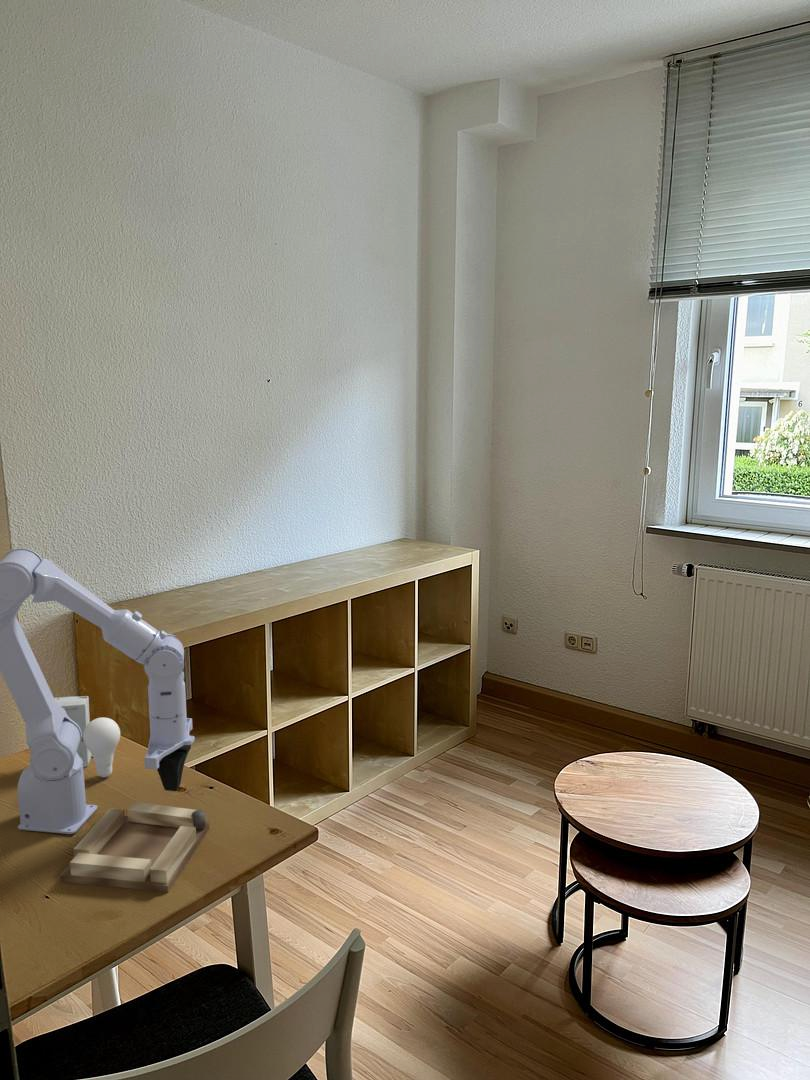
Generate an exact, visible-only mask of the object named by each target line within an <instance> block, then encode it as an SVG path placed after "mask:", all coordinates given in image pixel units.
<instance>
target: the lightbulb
mask: <svg viewBox="0 0 810 1080" xmlns="http://www.w3.org/2000/svg"><path fill="white" fill-rule="evenodd" d="M120 739H121V728H120V726H119V724H118V723H117V722H116V721H115V720H113V719H112V718H109V717H104V716H103V717H97V718H95V719H93V720H91V721H90V723H89V724H88V725H87V726H86V728H85V730H84V734H83V740H84V743H85V745H86V747H87V748H88V749H89V751H90V752H91V754H92V759H93V763H94V765H95V768H96V774H97V776H98V777H102V778H103V779H105V778H108V777H109V776H110V775H112V773H113V763H114V754H115V751H116V748H117V746H118V745H119V742H120Z"/></svg>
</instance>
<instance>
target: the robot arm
mask: <svg viewBox="0 0 810 1080" xmlns="http://www.w3.org/2000/svg"><path fill="white" fill-rule="evenodd" d="M31 595H33V598H32V601H31V603H33V604H35V603H38V604H39V603H46V602H57V603H58V604H60V605H62V606H63V607H65V608H67V609H68V610H69V611H72V612H74V613H75V614H77V615H78V616H80V617H81V618H83V619H85V620H87V621H88V622H89V623H91V624H93V625H94V626H96V627H99V628H100V629H101V632H102V638H103V640H104V641H105V642H106V643H108V644H109V645H111V646H112V647H114V648H115V649H117V650H118V651H120V652H121V653H123V654H124V655H126V656H127V657H129V658H130V659H131V660H133V661H135V662H137V663H138V664H141V665H144V666H143V668H144V672H145V673H146V675H147V676H148V685H147V692H148V693H147V694H148V695H147V696H148V697H147V698H148V712H149V713H148V714H149V728H150V729H149V730H150V737H149V741H148V746H147V747H148V748H147V751H146V752H147V753H146V754H145V756H144V757H143V761H144V763H143V764H144V769H145V770H155V771H157V773H158V775H159V778H160V781H161V784H162V787H163V789H164V791H167V792H169V791H170V792H178V790H179V789H180V786H181V781H182V777H183V772H184V771H183V770H184V767H185V762H186V760H187V757H188V754H189V752H190V750H191V749H192V744H193V743H194V742H195V740H196V739H195V736H194V735H190V732H191V731H192V730H193V729H194V728H193V718H189V717H187V714H188V713H187V698H186V697H187V695H186V683H185V681H184V680H185V672H184V669H185V668H184V667H185V663H184V662H185V661H184V660H185V659H184V658H185V649H184V646H183V643H182V641H181V640H180V639H178V638H177V636H176V635H175V634H172V633H167V632H166V631H164V630H163V629H162V630H161V631H160V630H158V629H156V628H155V627H154V626H152V625H151V624H150V623H148V622H147V621H145V620H143V619H142V618H143V614H142V613H140V612H139V611H137V610H134V612H132V611H130V610H129V609H116V610H115V609H114V608H112V606H110V605H108V604H107V603H105V601H103V600H101V599H100V598H99V597H98V596H96V595H95V594H94V593H92V592H91V591H90V590H88V589H87V588H86V587H84V586H83V585H81V583H79V582H78V581H76V580H75V579H74V578H73V577H71V576H70V575H68V574H67V573H66V572H64V571H63V570H62V568H60V567H59V566H58V565H56V563H54V562H53V561H51V560H50V559H48V558H46V557H44V558H43V557H41V556H40V554H39V553H37V552H36V551H35V550H32V549H31V548H26V547H17V548H14V549H12V550H9V551H8V552H7V553H6V554H4V556H3V557H2V559H1V560H0V674H1V676H2V679H3V680H4V682H5V684H6V686H7V689H8V691H9V693H10V695H11V698H12V699H13V701H14V703H15V705H16V707H17V709H18V711H19V714H20V715H21V718H22V719H23V722H24V726H25V737H26V739H25V740H26V745H27V746H28V749H29V751H30V756H29V757H30V758H29V765H28V766H27V767H25V768H24V769H23V771H22V772H21V774H20V776H19V778H18V783H17V789H16V790H17V792H16V793H17V802H18V809H19V811H18V812H19V819H20V820H19V821H20V823H19V825H18V826H17V829H18V830H21V831H31V832H32V831H33V832H43V833H54V834H66V835H74V834H76V832H77V831H79V829H80V828H81V827H83V825H84V824H85V823H86V822H87V820H89V819H90V817H91V816H92V815H93V814H94V813H95V812H96V811H98V809H99V807H98V805H97V804H87V797H86V787H85V786H86V784H85V773H84V767H83V761H82V759H81V758H80V757H79V755H78V753H77V749H78V746H79V744H80V743H81V740H82V732H81V729H80V727H79V726H78V724H77V723H75V722H74V721H73V720H71V719H70V718H69V717H68V715H67V714H66V711H65V709H64V708H62V707H60V706H58V705H57V703H56V701H55V699H54V698H55V697H54V695H53V692H52V691H51V688H50V687H49V684H48V682H47V680H46V677H45V676H44V674H43V672H42V671H43V670H42V669H41V667H40V665H39V663H38V660H37V659H36V656H35V654H34V653H33V650H32V648H31V646H30V644H29V642H28V639H27V637H26V635H25V632H24V630H23V629H22V626H21V625H20V622H19V620H18V618H17V615H18V613H19V611H20V609H21V607H22V605H23V603H24V602H25V601H26V600H27V599H28V598H30V596H31Z"/></svg>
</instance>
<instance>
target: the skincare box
mask: <svg viewBox="0 0 810 1080" xmlns="http://www.w3.org/2000/svg"><path fill="white" fill-rule="evenodd" d="M54 699H55V701H56V703H57V705H58V706H60V707H62V708H64V709H65V711H66V714H67V715H68V717H69V718H70V719H71V720H73V721H74V722H75V723H77V724H78V726H79V727H80V729H81V732H82V740H81V743H80V744H79V746H78V749H77V753H78V755H79V757H80V758H81V759H82V761H83V768H86V767H89V765H90V761H91V759H92V757H93V755H92V754H91V752H90V751H89V749H88V748H87V747H86V745H85V743H84V740H83V734H84V730H85V728H86V726H87V725H88V724H89V723H90V722H91V721H90V720H91V719H90V717H91V716H90V702H89V700H90V698H89V696H88V695H84V696H83V695H82V696H76V695H75V696H64V697H63V696H62V697H59V696H58V697H54Z"/></svg>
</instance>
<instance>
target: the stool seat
mask: <svg viewBox="0 0 810 1080" xmlns="http://www.w3.org/2000/svg"><path fill="white" fill-rule="evenodd" d="M209 830H210V823H209V822H206V827H205V828H203V829H201V830H196V827H186V826H180V828H174V827H167V826H160V825H152V824H145V823H138V822H130V821H128V815H125V810H124V809H118V808H116V809H115V808H108V809H107V810H106V812H105V813H104V814H103V815H102V816H101V817H100V819H98V820H97V822H96V823H95V824H94V825H93V826H92V827H91V829H90V830H89V831H88V832H87V833H86V835H84V836H83V838H82V839H81V840H80V841H79V842H78V843H77V844H76V846H74V847H73V858H72V859H71V860H70V861H69V864H68V865H67V867H66V868H65V869H64V870H63V871H62V872H61V873H60V875H59V880H60V882H61V883H62V882H63V883H73V884H83V885H89V886H91V885H92V886H102V887H112V888H113V887H114V888H121V889H133V890H144V891H152V892H163V893H169V891H170V890H171V888H172V886H173V885H174V883H175V882H176V881H177V879H178V877H179V876H180V875H181V873H182V872H183V870H184V868H185V867H186V865H187V864H188V862H189V860H190V859H191V858H192V856H193V854H194V853H195V852H196V850H197V849H198V847H199V845H200V843H201V842H202V841H203V840H204V837H206V835H207V833H208V831H209Z"/></svg>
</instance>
